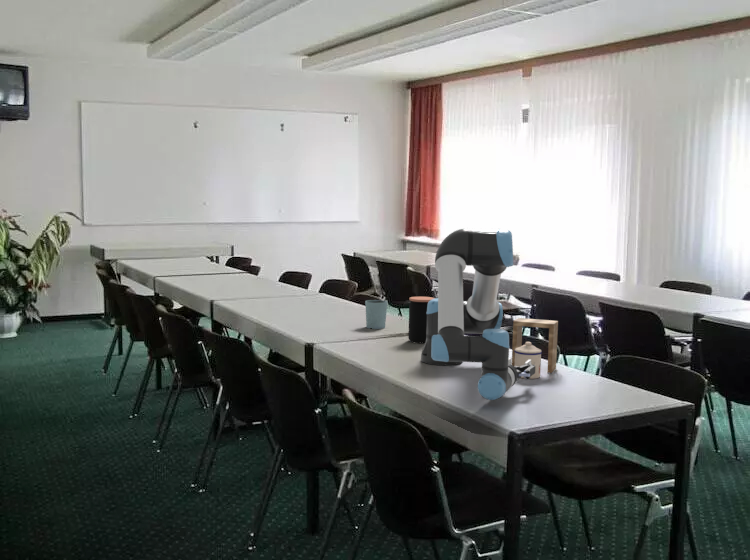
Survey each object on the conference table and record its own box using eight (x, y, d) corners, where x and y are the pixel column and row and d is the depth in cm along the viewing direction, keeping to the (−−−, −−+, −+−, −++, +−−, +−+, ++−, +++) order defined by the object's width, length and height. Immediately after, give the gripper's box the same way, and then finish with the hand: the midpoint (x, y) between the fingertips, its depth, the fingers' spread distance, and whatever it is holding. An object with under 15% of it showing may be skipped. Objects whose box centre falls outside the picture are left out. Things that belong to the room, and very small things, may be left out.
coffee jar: (438, 340, 329) (439, 297, 328) (426, 344, 320) (427, 300, 319) (416, 338, 335) (417, 295, 333) (403, 341, 326) (404, 298, 324)
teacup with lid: (545, 378, 264) (547, 344, 263) (520, 379, 262) (521, 345, 260) (530, 371, 275) (531, 337, 274) (505, 371, 273) (506, 338, 272)
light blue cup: (362, 328, 356) (363, 302, 355) (366, 325, 366) (367, 299, 365) (385, 329, 355) (385, 303, 353) (388, 326, 365) (389, 300, 363)
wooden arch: (511, 369, 278) (513, 320, 276) (516, 364, 285) (518, 317, 284) (551, 373, 273) (553, 324, 271) (556, 368, 280) (558, 320, 278)
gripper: (472, 386, 240) (491, 371, 261) (533, 393, 233) (548, 377, 254) (472, 361, 239) (492, 348, 261) (534, 367, 232) (549, 354, 253)
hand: (520, 362), depth 257 cm, fingers open, 6 cm apart
